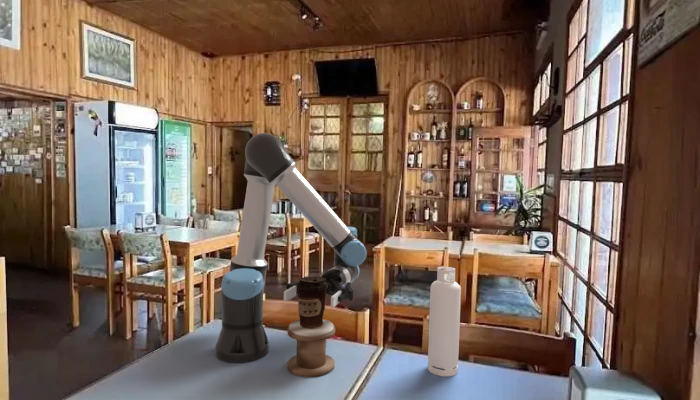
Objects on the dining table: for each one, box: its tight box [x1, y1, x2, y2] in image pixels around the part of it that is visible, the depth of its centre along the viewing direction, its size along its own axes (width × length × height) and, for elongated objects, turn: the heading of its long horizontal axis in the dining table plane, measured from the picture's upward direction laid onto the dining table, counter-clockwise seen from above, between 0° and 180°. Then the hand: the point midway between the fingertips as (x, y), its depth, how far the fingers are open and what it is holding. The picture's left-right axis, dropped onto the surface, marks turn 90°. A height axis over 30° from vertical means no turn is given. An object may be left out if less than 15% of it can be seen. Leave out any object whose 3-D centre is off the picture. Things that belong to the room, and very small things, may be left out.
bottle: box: [427, 266, 462, 377], centre depth 117 cm, size 8×8×28 cm
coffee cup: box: [297, 276, 328, 329], centre depth 118 cm, size 9×8×13 cm
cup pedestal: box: [286, 319, 336, 378], centre depth 118 cm, size 13×13×11 cm
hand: (308, 299), depth 115 cm, fingers open, 13 cm apart
